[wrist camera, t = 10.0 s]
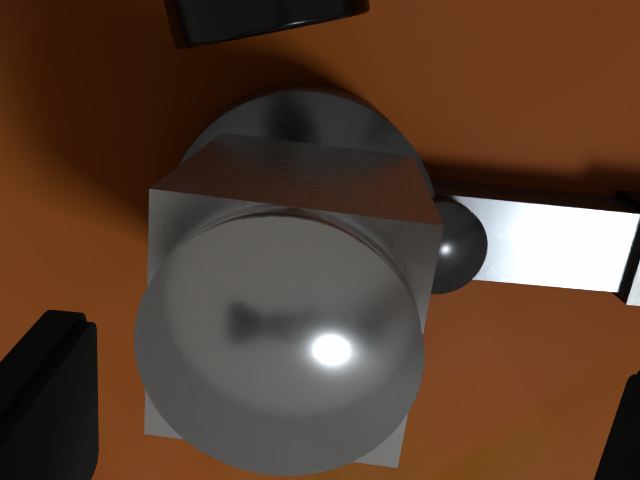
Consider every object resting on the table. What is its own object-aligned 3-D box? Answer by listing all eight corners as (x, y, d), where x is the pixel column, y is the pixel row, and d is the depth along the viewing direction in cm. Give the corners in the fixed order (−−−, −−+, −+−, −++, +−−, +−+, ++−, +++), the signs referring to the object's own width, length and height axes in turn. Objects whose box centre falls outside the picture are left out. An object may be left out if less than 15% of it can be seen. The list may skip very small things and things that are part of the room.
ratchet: (789, 136, 23) (989, 184, 16) (711, 346, 26) (853, 457, 19) (185, 68, 21) (137, 91, 15) (176, 302, 24) (133, 409, 18)
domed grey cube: (414, 156, 19) (448, 238, 12) (385, 328, 21) (399, 492, 14) (221, 132, 19) (135, 199, 12) (211, 306, 21) (132, 456, 14)
